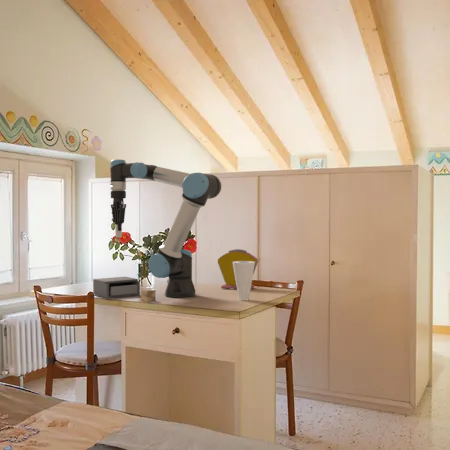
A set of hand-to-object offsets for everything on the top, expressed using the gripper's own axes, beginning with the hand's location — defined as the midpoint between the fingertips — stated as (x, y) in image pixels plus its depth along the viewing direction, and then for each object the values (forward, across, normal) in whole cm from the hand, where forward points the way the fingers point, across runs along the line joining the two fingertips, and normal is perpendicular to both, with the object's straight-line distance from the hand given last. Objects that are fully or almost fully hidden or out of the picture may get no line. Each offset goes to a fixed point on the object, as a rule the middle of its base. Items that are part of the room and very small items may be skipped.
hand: (118, 237), depth 277 cm
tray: (+28, 0, -1) cm, 28 cm away
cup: (+30, +51, +40) cm, 71 cm away
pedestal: (+29, +25, +3) cm, 39 cm away
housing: (+29, -2, 0) cm, 29 cm away
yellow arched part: (+30, +17, +63) cm, 72 cm away
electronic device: (+30, -33, +52) cm, 68 cm away
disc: (+27, -1, 0) cm, 27 cm away
